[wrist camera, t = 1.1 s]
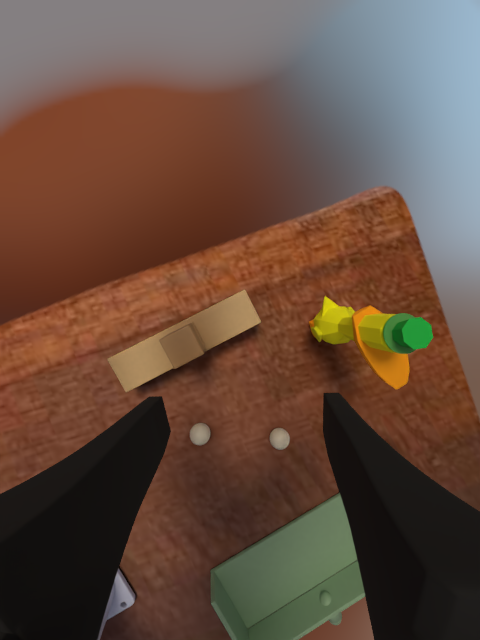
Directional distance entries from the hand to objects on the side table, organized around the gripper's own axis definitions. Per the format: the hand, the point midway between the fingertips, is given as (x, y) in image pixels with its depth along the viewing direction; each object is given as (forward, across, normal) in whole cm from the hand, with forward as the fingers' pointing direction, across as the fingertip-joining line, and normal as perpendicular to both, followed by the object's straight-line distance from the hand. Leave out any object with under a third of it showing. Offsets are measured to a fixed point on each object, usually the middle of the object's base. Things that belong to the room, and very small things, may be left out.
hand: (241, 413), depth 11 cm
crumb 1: (+8, +5, +9) cm, 13 cm away
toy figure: (+14, -6, +2) cm, 15 cm away
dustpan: (+6, -4, +24) cm, 25 cm away
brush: (+11, +6, +1) cm, 13 cm away
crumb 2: (+9, -2, +11) cm, 14 cm away
